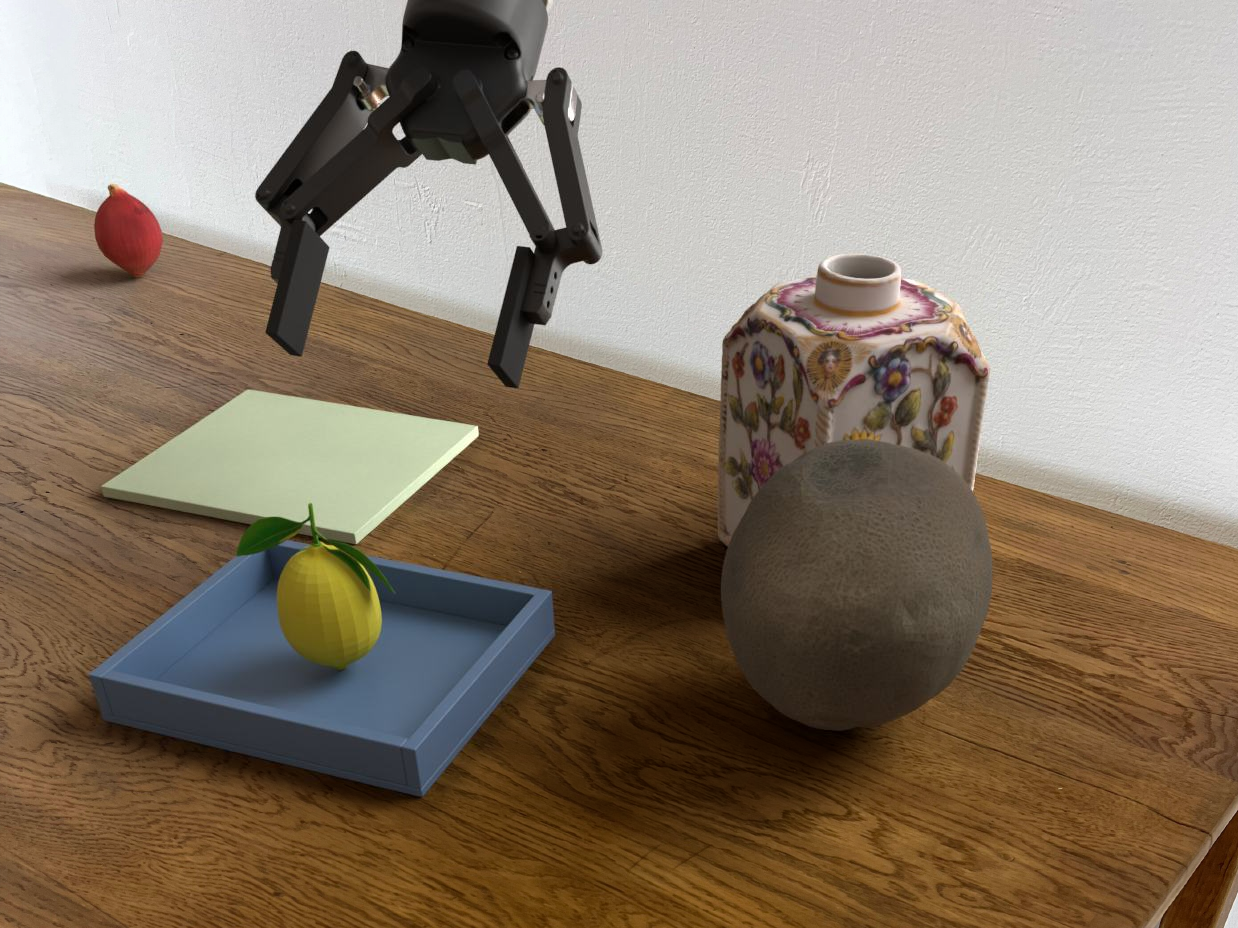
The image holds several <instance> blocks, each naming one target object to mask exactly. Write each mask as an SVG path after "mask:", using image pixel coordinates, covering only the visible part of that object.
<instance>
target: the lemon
mask: <svg viewBox="0 0 1238 928" xmlns="http://www.w3.org/2000/svg"><path fill="white" fill-rule="evenodd" d="M308 509H309V517H308V518H307V519H306V520H304V521H303V522H296V521H293V520H289V519H286V518H282V517H267V518H262V519H259V520H257V521H256V522H255V523H253V524H252V525H251V524H250V526H249V527H247V529H246V530H245V532H244V533H243V534H242V536H241V539H240V541H239V543H238V546H237V551H236V554H235V556H244V555H253V554H257V553H260V552H263V551H265V550H268V549H270V548H273V547H275V546H277V545H279V544H281V543H283V542H284V541H286V540H290V539H291V538H294V537H295V536H297V535H298V532H299V531H300V529H301V527H302V525H303V524H305V523H306V522H308V521H309V520H310V525H311V531H312V535H313V536H312V539H313V543H311V544H310V546H307V547H305V548H303V549H302V550H300V551H299V552H297V553H296V554H295V555H294V556H292V557H291V558H290V560H289V561H288V562H287V564H286V566H285V567H284V569H283V571H282V573H281V576H280V579H279V582H278V588H277V608H278V617H279V622H280V626H281V629H282V632H283V634H284V636H285V638H286V639H287V641H288V643H289V644H290V645H291V646H292V648H293V649H294V650H295V651H296V652H297V653H298V654H299V655H301V656H302V657H304V658H305V659H307V660H309V661H311V662H314V663H317V664H321V665H325V666H331V667H332V668H334V669H336V670H343V669H346V668H347V667H348V665H349V664H351V663H353V662H355V661H357V660H359V659H361V658H362V657H364V656H365V655H366V654H368V653H369V652H370V651H371V649H372V648H373V646H374V645H375V643H376V641H377V640H378V638H379V635H380V631H381V625H382V616H381V608H380V603H379V598H378V595H377V591H376V588H375V586H374V584H373V581H372V579H371V577H370V576H369V574H368V572H367V571H366V569H368V570H369V571H370V572H371V573H372V574H374V575H375V576H376V577H377V578H378V579H380V580H381V581H382V582H383V583H384V584H385V585H386V586H387V587H388V588H389V589H390V590H391V591H392V592H393V593H394V594H396V593H395V592H394V590H393V589H392V587H391V586H390V584H389V583H388V581H387V580H386V578H385V577H384V575H383V574H382V573H381V572H380V570H379V569H378V568H377V567H376V565H375V564H374V563H373V562H372V561H371V560H370V559H369V558H368V557H367V556H368V555H367V556H366V554H365V553H364V552H362V551H361V550H359V549H358V548H356V547H354V546H352V544H351V545H350V544H349V543H346V542H340V541H335V540H330V539H326V538H325V537H323V536H322V535H321V534H319V532H318V531H317V530H316V527H315V520H314V513H313V506H312V503H309V504H308ZM317 534H318V535H319V536H320V537H321V538H320V539H322V540H324V541H325V542H327V543H328V544H326V543H324V542H323V541H320V540H319V537H318V536H317ZM363 566H364V567H365V568H366V569H365V568H364V567H363Z"/></svg>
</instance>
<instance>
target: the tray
mask: <svg viewBox="0 0 1238 928" xmlns="http://www.w3.org/2000/svg"><path fill="white" fill-rule="evenodd" d="M310 545H311V544H309V543H304V542H299V541H294V540H290V539H288V540H286V541H284V542H283V543H281V544H279V545H277V546H275V547H273V548H270V549H268V550H265V551H263V552H260V553H257V554H253V555H244V556H236V555H235V556H234V557H233V558H231V559H230V560H229V561H228V562H226V563H225V564H223V566H221V568H219V569H217V571H216V572H214V573H213V574H211V575H210V576H209V577H208V578H207V579H206V580H204V581H203V582H202V583H201V584H199V585H198V586H197V587H195V588H194V589H193V590H192V591H191V592H189V593H188V594H187V595H185V596H184V597H183V598H182V599H180V600H179V601H177V603H176V604H174V605H173V606H172V607H170V608H169V609H168V610H167V611H166V612H164V613H163V614H162V615H161V616H159V617H158V618H157V619H156V620H154V621H153V622H152V623H151V624H149V625H148V626H147V627H146V628H144V629H143V630H142V631H140V632H139V633H138V634H137V635H135V636H134V637H133V638H132V639H130V640H129V641H128V642H127V643H125V644H124V645H123V646H122V647H121V648H119V649H118V650H117V651H115V652H114V653H113V654H112V655H110V656H109V657H108V658H107V659H106V660H104V661H103V662H102V663H100V664H99V665H98V666H96V668H94V669H93V670H92V671H90V672H89V673H88V678H89V681H90V684H91V687H92V690H93V692H94V696H95V698H96V701H97V704H98V707H99V710H100V713H101V716H102V719H103V721H104V722H109V723H112V724H117V725H120V726H125V727H129V728H134V729H137V730H141V731H146V732H149V733H154V734H158V735H161V736H162V735H163V736H166V737H171V738H175V739H179V740H183V741H187V742H192V743H195V744H200V745H204V746H208V747H212V748H215V749H220V750H225V751H229V752H233V753H236V754H241V755H245V756H249V757H254V758H258V759H262V760H266V761H269V762H274V763H278V764H282V765H285V766H286V765H287V766H291V767H296V768H298V769H303V770H307V771H311V772H315V773H320V774H324V775H329V776H332V777H337V778H341V779H344V780H348V781H353V782H357V783H362V784H365V785H369V786H374V787H377V788H382V789H386V790H391V791H395V792H399V793H401V794H402V793H403V794H407V795H411V796H414V797H419V798H424V796H425V795H426V794H427V792H428V791H429V790H430V789H431V787H432V786H433V785H434V784H435V783H436V782H437V780H438V779H439V778H440V776H441V775H443V773H444V772H445V770H446V769H447V768H448V767H449V765H450V764H451V763H452V762H453V761H454V760H455V758H456V757H457V756H458V755H459V753H460V752H461V751H462V750H463V748H464V747H465V746H466V745H467V743H469V742H470V740H471V739H472V738H473V736H474V735H475V734H476V733H477V732H478V730H480V728H481V726H483V724H484V723H485V722H486V720H487V719H488V718H489V717H490V716H491V715H492V713H493V712H494V711H495V709H496V708H497V707H498V706H499V705H500V703H501V702H502V701H503V700H504V698H505V697H506V696H507V695H508V694H509V692H510V691H511V690H512V689H513V688H514V687H515V685H516V684H517V683H518V682H519V680H520V679H521V678H522V676H523V675H525V673H526V672H527V670H528V669H529V668H530V667H531V666H532V665H533V663H534V662H535V661H536V659H537V658H538V657H539V656H540V655H541V653H542V652H543V651H544V650H545V648H546V647H547V646H548V645H549V644H550V642H551V641H552V640H553V639H554V638H555V636H556V630H555V616H554V615H555V614H554V602H553V601H554V600H553V591H552V590H548V589H544V588H539V587H533V586H529V585H525V584H517V583H512V582H507V581H502V580H497V579H492V578H486V577H483V576H482V577H481V576H476V575H471V574H465V573H460V572H455V571H449V570H446V569H439V568H436V567H435V568H434V567H429V566H425V565H419V564H414V563H409V562H404V561H403V562H402V561H399V560H392V559H387V558H382V557H377V556H372V555H366V554H365V555H366V556H367V557H368V558H369V559H370V560H371V561H372V562H373V563H374V564H375V565H376V567H377V568H378V569H379V570H380V572H381V573H382V574H383V575H384V577H385V578H386V580H387V581H388V583H389V584H390V586H391V587H392V589H393V590H394V592H395V593H396V594H394V593H393V592H392V591H391V590H390V589H389V588H388V587H387V586H386V585H385V584H384V583H383V582H382V581H381V580H380V579H378V578H377V577H376V576H375V575H374V574H372V573H371V572H370V571H369V570H368V569H366V568H365V567H364V566H363V567H364V568H365V569H366V571H367V572H368V574H369V576H370V577H371V579H372V581H373V584H374V586H375V588H376V591H377V595H378V598H379V603H380V608H381V616H382V625H381V631H380V635H379V638H378V640H377V641H376V643H375V645H374V646H373V648H372V649H371V651H370V652H369V653H368V654H366V655H365V656H364V657H362V658H361V659H359V660H357V661H355V662H353V663H351V664H349V665H348V667H347V668H346V669H343V670H336V669H334V668H332V667H331V666H325V665H321V664H317V663H314V662H311V661H309V660H307V659H305V658H304V657H302V656H301V655H299V654H298V653H297V652H296V651H295V650H294V649H293V648H292V646H291V645H290V644H289V643H288V641H287V639H286V638H285V636H284V634H283V632H282V629H281V626H280V622H279V617H278V608H277V588H278V582H279V579H280V576H281V573H282V571H283V569H284V567H285V566H286V564H287V562H288V561H289V560H290V558H291V557H292V556H294V555H295V554H296V553H297V552H299V551H300V550H302V549H303V548H305V547H307V546H310Z"/></svg>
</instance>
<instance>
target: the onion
mask: <svg viewBox="0 0 1238 928" xmlns="http://www.w3.org/2000/svg"><path fill="white" fill-rule="evenodd" d="M107 190H108V193H109V196H107V197H106V198H105V199H104V200H103V201H102V203H100V206H99V207H98V209H97V211H96V213H95V217H94V224H93V229H94V239H95V241H96V245H97V247H98V249H99V251H100V252H101V253H102V254H103V255H104V257H105V258H106V259H108V260H109V261H110V262H111V263H113V264H114V265H115V266H117V267H118V268H120V269H122V270H124V272H127V273H128V274H129V275H131V276H132V277H134V278H142V277H143V276H144V275H145V274H146V273H147V272H148V271H149V270H150V269H151V268H152V267H153V266H154V265H155V263H156V262H157V260H158V259H159V257H160V255H161V252H162V246H163V242H164V239H163V230H162V229H161V226H160V223H159V220H158V219H157V217H156V216H155V214H154V213H153V211H152V210H151V209H150V208H149V207H148V206H147V205H146V204H145V203H144V202H142V200H140V199H138V198H137V197H135V196H134V195H132V194H130V193H128V192H127V191H126V190H124V189H123V188H121V186H119V185H118V184H115V183H110V184H108V186H107Z"/></svg>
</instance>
